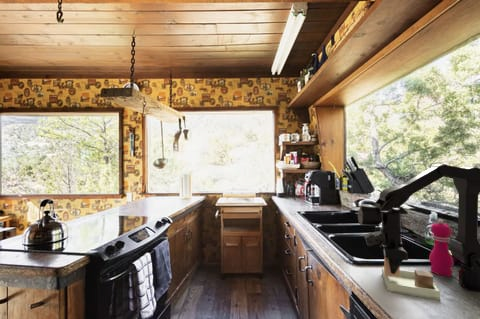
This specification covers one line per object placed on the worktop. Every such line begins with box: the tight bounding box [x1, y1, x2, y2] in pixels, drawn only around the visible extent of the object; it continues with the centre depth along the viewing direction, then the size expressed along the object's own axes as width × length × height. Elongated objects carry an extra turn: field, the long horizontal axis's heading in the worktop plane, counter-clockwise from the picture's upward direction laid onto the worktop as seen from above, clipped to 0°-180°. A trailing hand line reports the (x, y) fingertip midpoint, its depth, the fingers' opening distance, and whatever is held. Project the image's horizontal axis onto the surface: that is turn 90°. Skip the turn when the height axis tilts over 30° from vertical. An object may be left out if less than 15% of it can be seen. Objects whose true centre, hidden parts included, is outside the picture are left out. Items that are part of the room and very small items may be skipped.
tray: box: [381, 266, 441, 301], centre depth 84 cm, size 14×14×3 cm
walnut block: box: [414, 269, 434, 289], centre depth 81 cm, size 4×4×5 cm
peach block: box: [383, 256, 401, 277], centre depth 87 cm, size 4×4×5 cm
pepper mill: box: [428, 218, 455, 277], centre depth 95 cm, size 7×7×20 cm
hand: (391, 271), depth 87 cm, fingers closed on peach block, 4 cm apart
